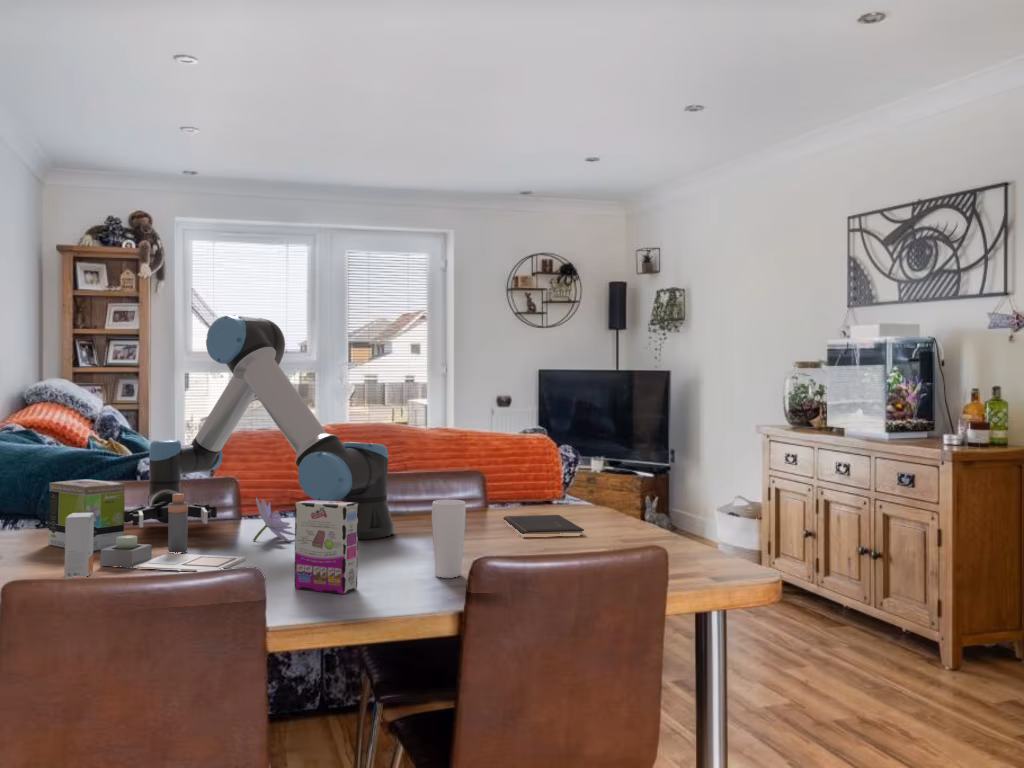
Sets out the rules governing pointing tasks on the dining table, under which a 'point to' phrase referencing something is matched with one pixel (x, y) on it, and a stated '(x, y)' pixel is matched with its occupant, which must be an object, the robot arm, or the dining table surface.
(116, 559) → the button housing
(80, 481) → the tea box
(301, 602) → the dining table surface
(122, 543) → the button
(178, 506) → the grey and orange bottle
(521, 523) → the hardcover book
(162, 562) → the board
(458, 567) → the drinking glass
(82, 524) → the skincare box
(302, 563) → the candy bar box
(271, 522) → the water lily
